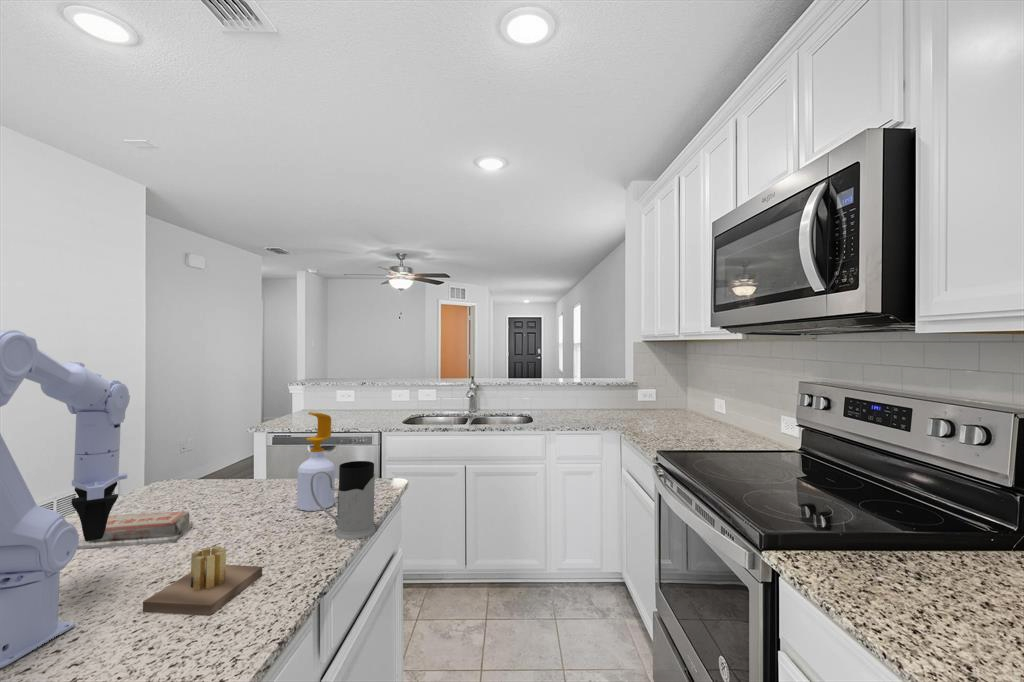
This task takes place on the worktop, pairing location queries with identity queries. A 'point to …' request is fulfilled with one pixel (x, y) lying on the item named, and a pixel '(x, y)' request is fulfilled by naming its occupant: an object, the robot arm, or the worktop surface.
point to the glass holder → (353, 500)
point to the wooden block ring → (208, 567)
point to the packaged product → (141, 529)
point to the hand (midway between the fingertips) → (94, 532)
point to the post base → (202, 592)
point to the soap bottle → (315, 465)
